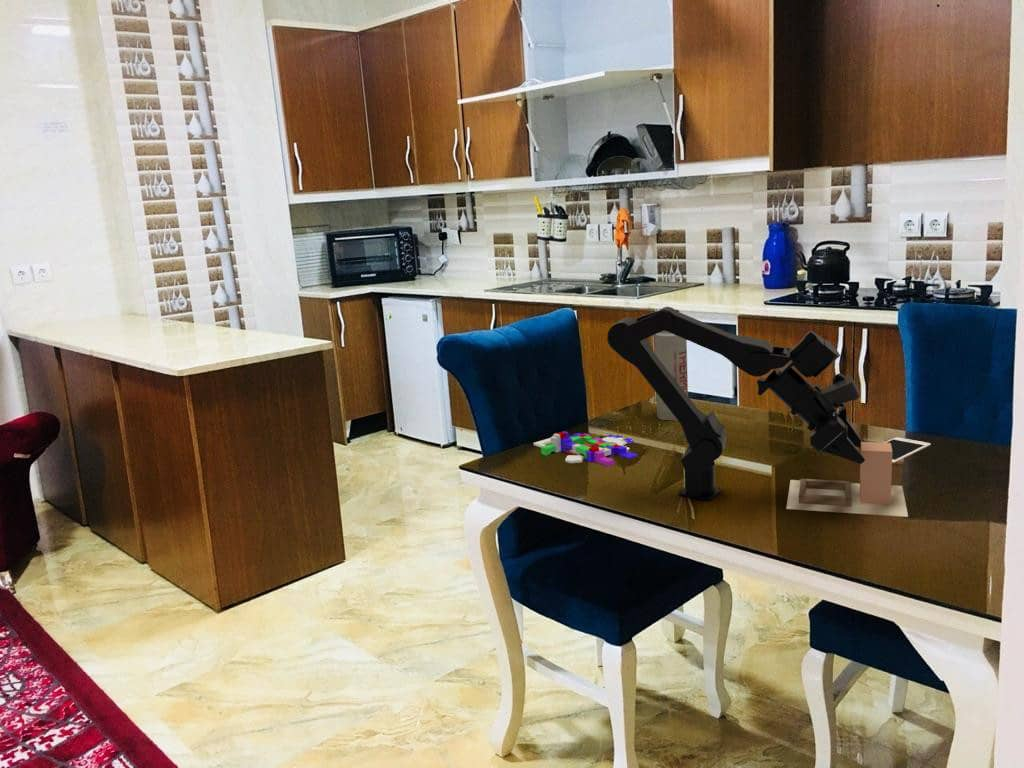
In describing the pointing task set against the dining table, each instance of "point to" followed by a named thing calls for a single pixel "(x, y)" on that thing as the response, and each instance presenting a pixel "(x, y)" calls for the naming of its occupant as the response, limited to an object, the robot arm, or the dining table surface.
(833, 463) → the dining table surface
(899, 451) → the cell phone
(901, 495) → the board
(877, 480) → the pillar
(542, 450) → the building block set
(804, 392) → the robot arm
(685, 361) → the thermos bottle
